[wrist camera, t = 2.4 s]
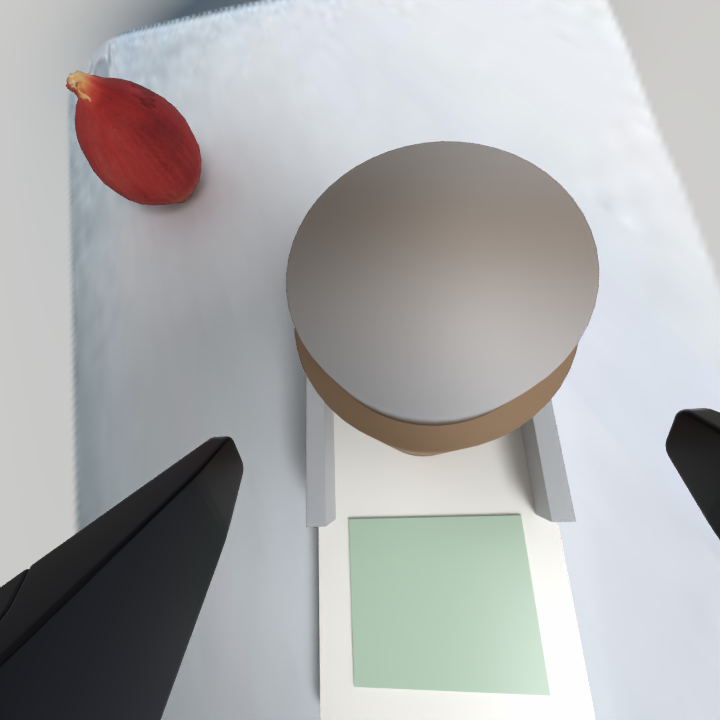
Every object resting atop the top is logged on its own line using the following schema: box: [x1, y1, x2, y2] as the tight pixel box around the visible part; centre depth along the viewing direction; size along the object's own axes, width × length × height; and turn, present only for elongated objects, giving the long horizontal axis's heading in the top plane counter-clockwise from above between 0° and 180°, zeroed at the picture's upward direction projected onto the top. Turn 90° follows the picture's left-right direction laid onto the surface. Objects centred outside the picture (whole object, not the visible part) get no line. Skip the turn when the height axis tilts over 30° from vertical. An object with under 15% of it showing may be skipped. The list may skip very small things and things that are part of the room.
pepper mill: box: [286, 141, 599, 457], centre depth 10 cm, size 5×5×12 cm
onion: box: [66, 71, 201, 205], centre depth 20 cm, size 6×6×8 cm
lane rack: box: [306, 375, 595, 720], centre depth 14 cm, size 17×10×5 cm, turn 2°
